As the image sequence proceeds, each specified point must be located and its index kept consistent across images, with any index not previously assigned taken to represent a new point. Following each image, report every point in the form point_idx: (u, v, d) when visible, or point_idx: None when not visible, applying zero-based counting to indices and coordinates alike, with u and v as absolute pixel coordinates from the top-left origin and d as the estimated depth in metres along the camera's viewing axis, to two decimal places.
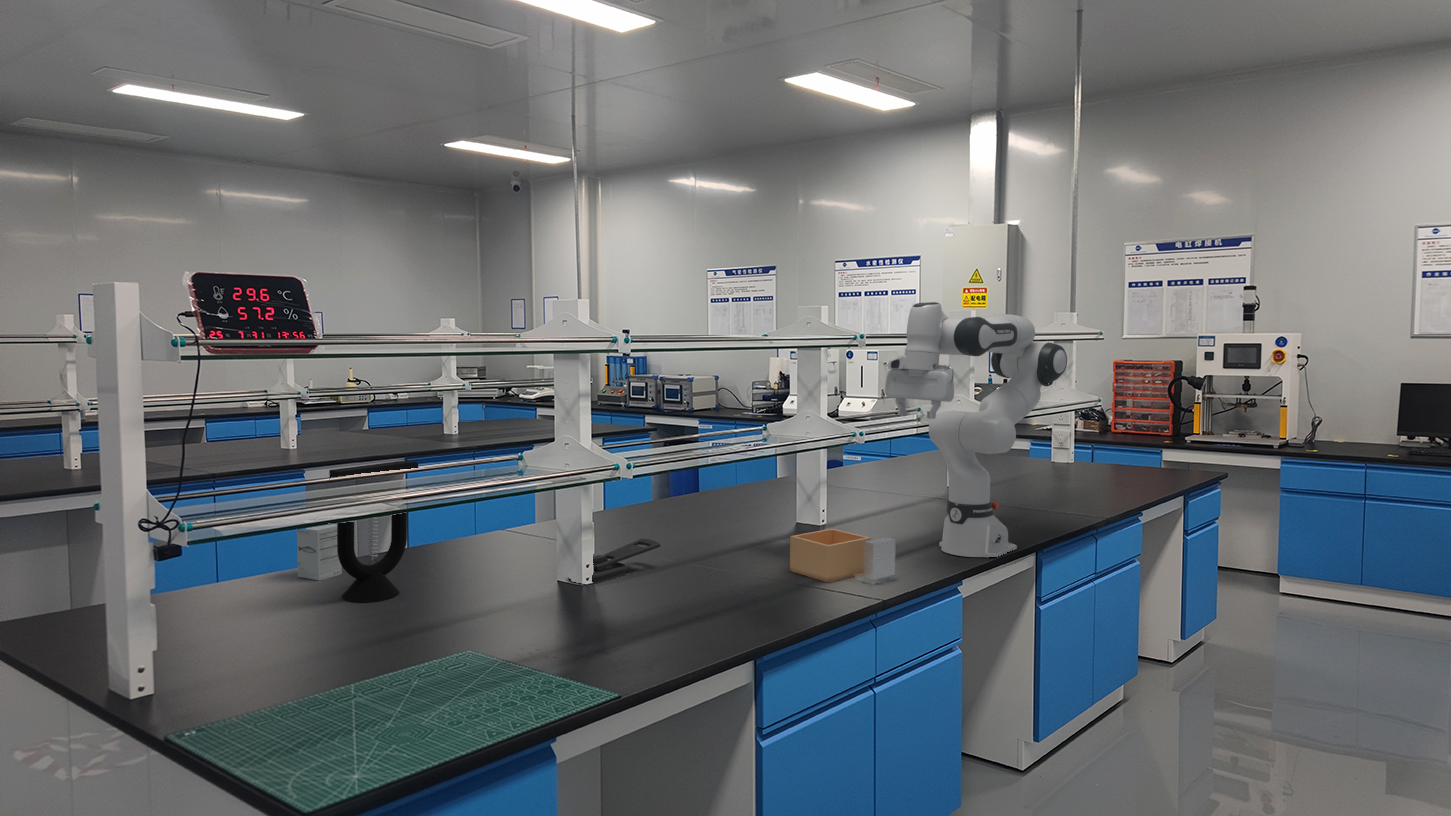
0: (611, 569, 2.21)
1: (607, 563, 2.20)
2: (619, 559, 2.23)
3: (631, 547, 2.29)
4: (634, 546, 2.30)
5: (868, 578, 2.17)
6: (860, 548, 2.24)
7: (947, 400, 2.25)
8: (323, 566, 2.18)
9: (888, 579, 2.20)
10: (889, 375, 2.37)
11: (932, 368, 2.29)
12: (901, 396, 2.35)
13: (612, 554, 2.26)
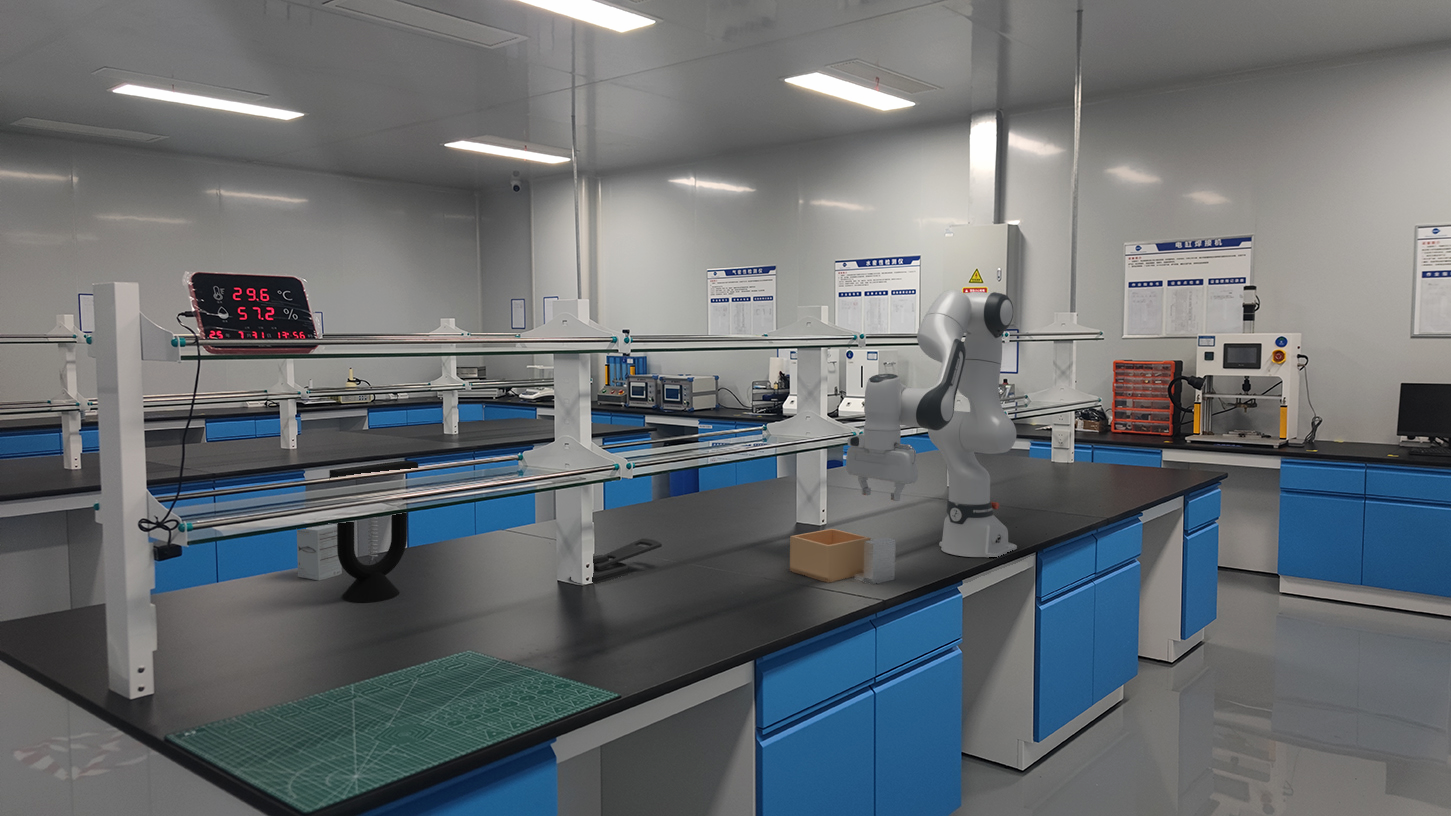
0: (612, 569, 2.21)
1: (608, 563, 2.20)
2: (620, 559, 2.23)
3: (632, 547, 2.30)
4: (635, 546, 2.30)
5: (868, 578, 2.17)
6: (860, 548, 2.24)
7: (910, 482, 2.10)
8: (323, 566, 2.18)
9: (888, 579, 2.20)
10: (849, 452, 2.23)
11: (893, 447, 2.14)
12: (863, 475, 2.20)
13: (613, 554, 2.26)
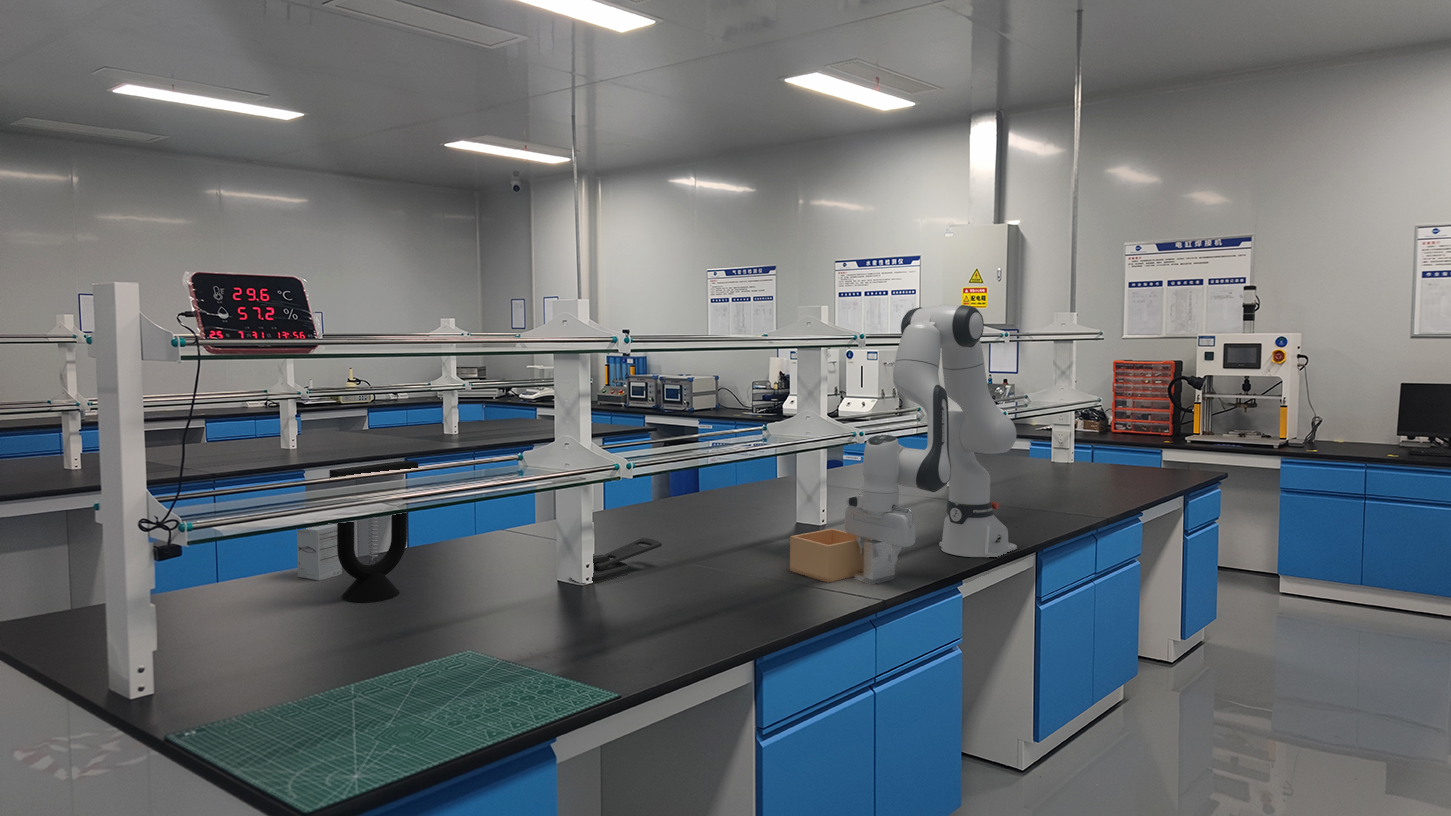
0: (613, 568, 2.22)
1: (609, 562, 2.21)
2: (621, 558, 2.23)
3: (632, 546, 2.30)
4: (635, 545, 2.31)
5: (868, 578, 2.17)
6: None
7: (908, 545, 2.11)
8: (323, 566, 2.18)
9: (888, 579, 2.20)
10: (848, 512, 2.24)
11: (891, 509, 2.15)
12: (861, 535, 2.21)
13: (614, 553, 2.26)
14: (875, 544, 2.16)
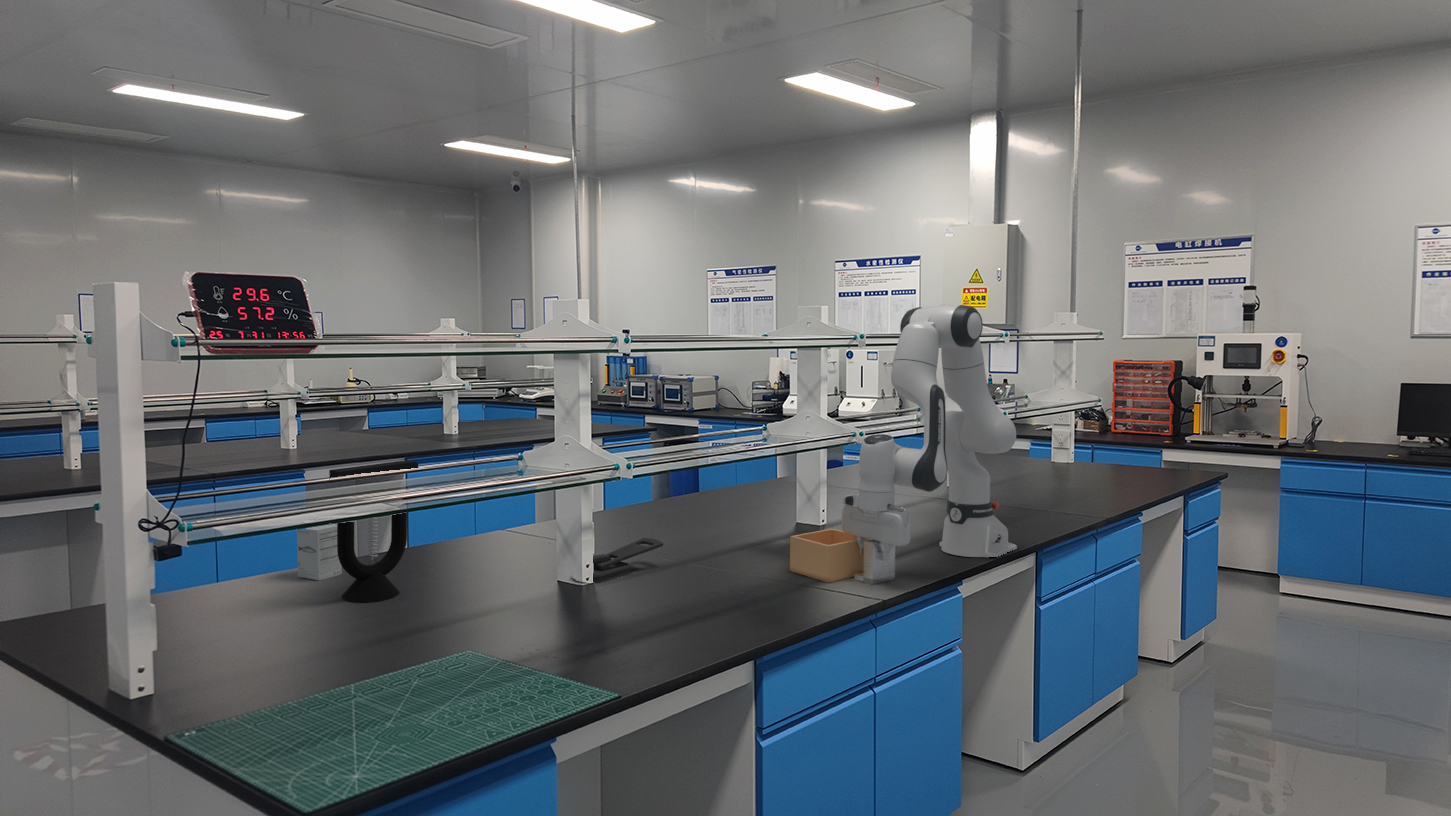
0: (615, 568, 2.22)
1: (611, 562, 2.21)
2: (622, 558, 2.24)
3: (634, 546, 2.30)
4: (637, 545, 2.31)
5: (868, 578, 2.17)
6: None
7: (903, 545, 2.12)
8: (323, 566, 2.18)
9: (888, 579, 2.20)
10: (844, 510, 2.25)
11: (886, 508, 2.15)
12: (857, 534, 2.22)
13: (615, 553, 2.26)
14: (875, 544, 2.16)
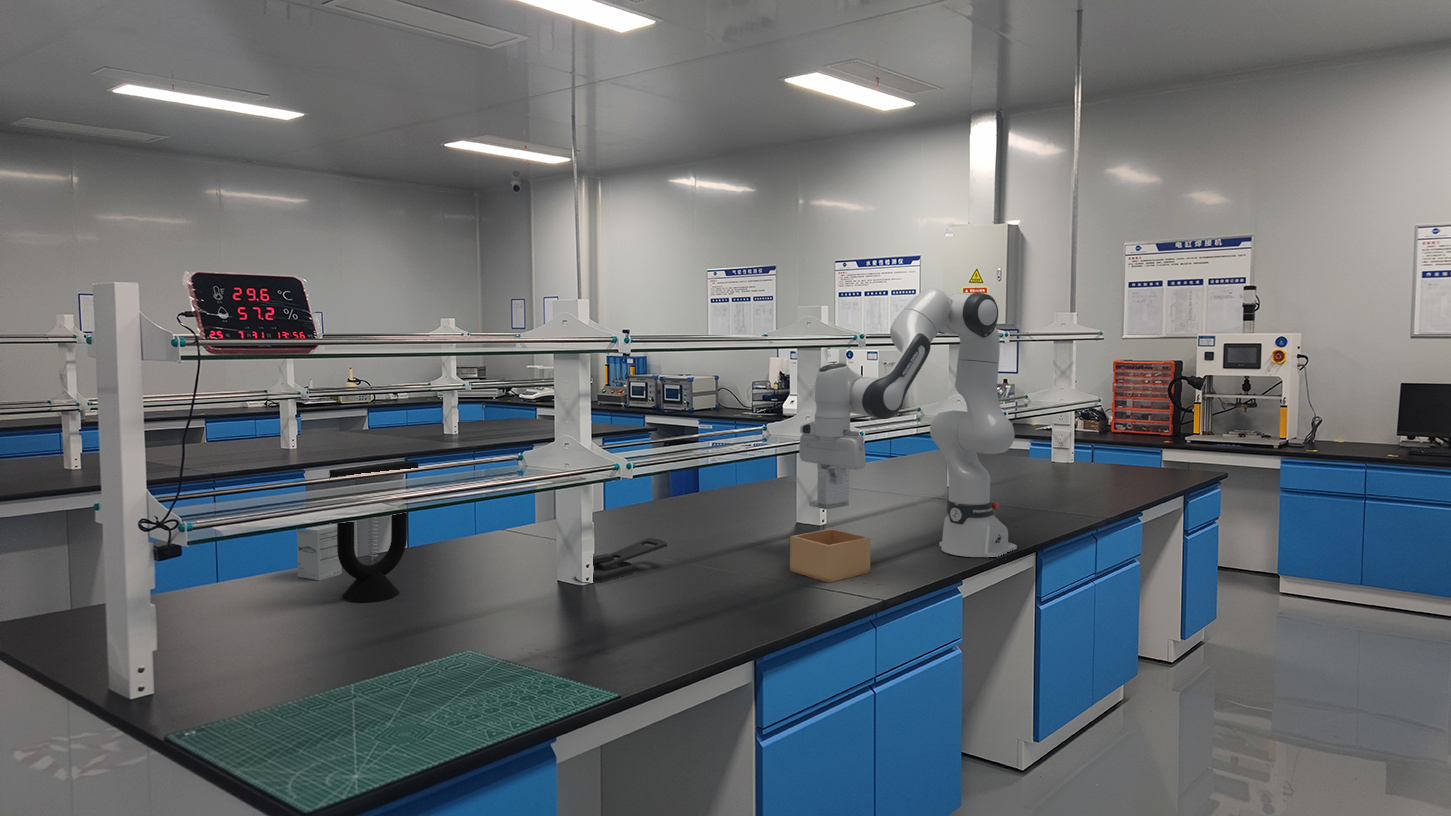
0: (617, 568, 2.22)
1: (613, 562, 2.21)
2: (625, 558, 2.24)
3: (638, 546, 2.30)
4: (641, 545, 2.31)
5: (822, 503, 2.24)
6: (860, 548, 2.24)
7: (858, 468, 2.18)
8: (323, 566, 2.18)
9: (842, 505, 2.27)
10: (802, 439, 2.30)
11: (842, 434, 2.21)
12: (815, 461, 2.28)
13: (619, 553, 2.27)
14: (828, 470, 2.23)
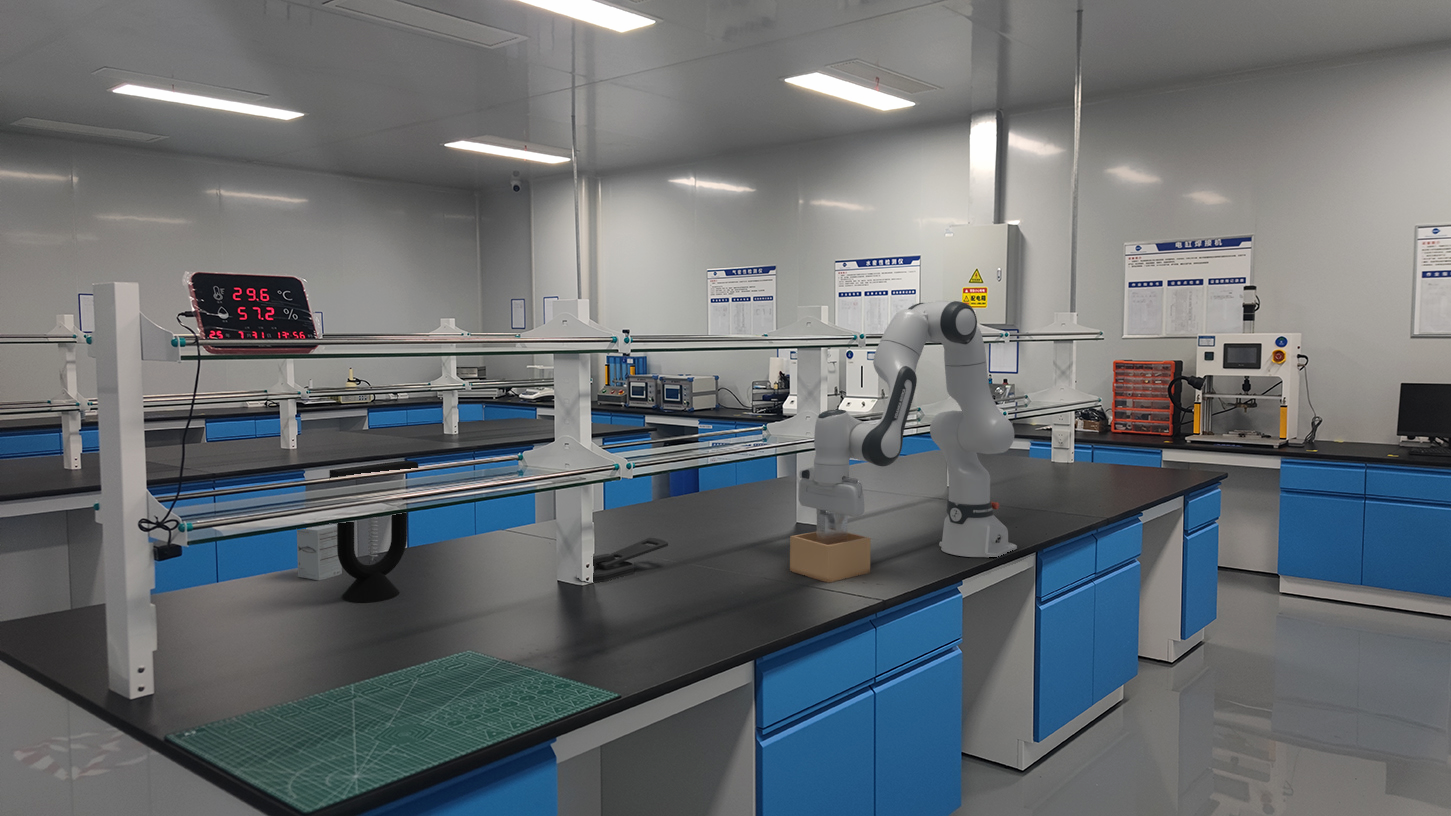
0: (618, 568, 2.22)
1: (614, 562, 2.22)
2: (627, 558, 2.24)
3: (639, 546, 2.31)
4: (642, 545, 2.31)
5: None
6: (860, 548, 2.24)
7: (857, 515, 2.19)
8: (323, 566, 2.18)
9: None
10: (801, 484, 2.31)
11: (841, 481, 2.22)
12: (814, 507, 2.29)
13: (620, 553, 2.27)
14: (827, 516, 2.24)
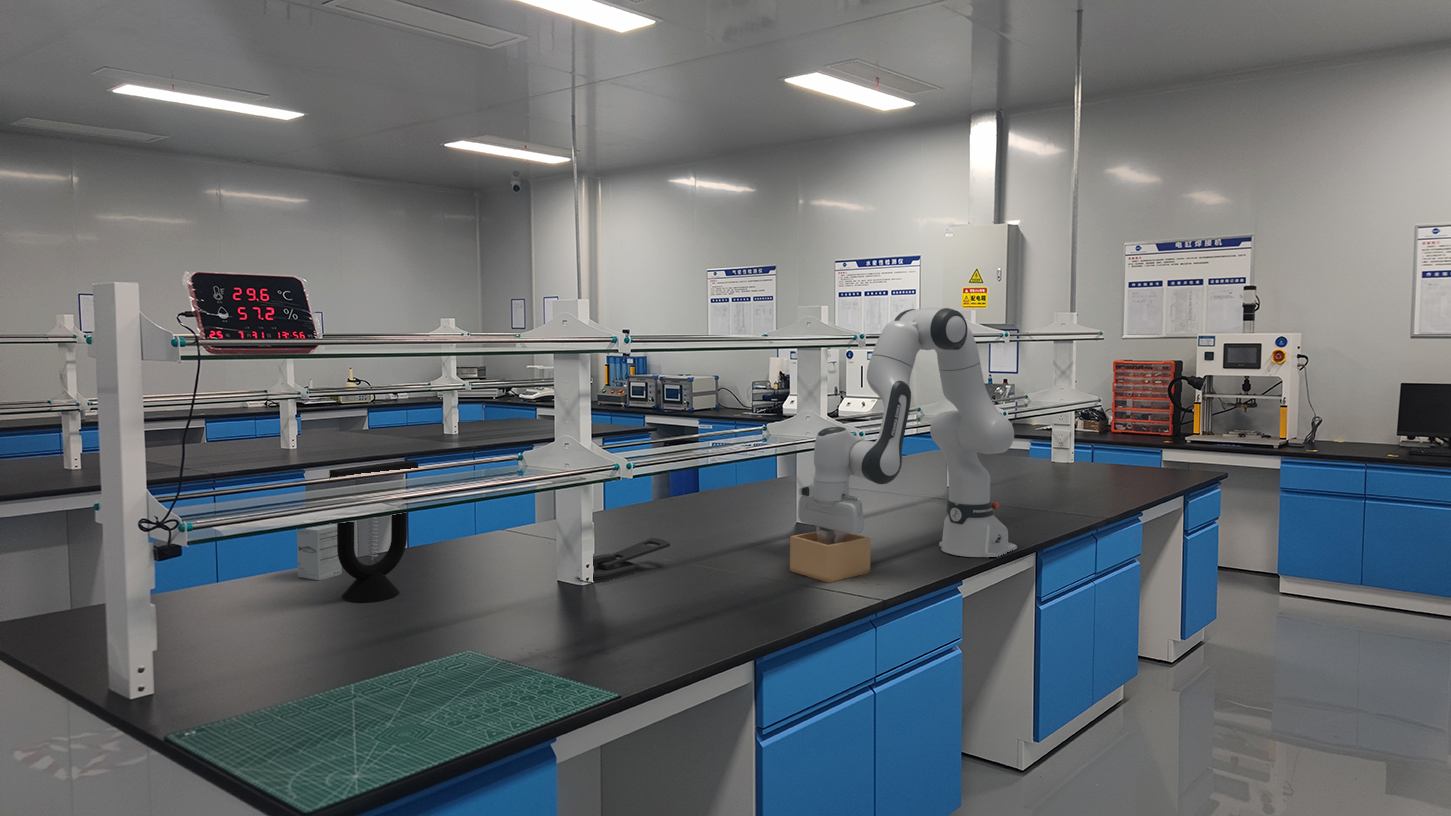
0: (620, 568, 2.22)
1: (615, 562, 2.22)
2: (628, 558, 2.24)
3: (641, 546, 2.31)
4: (644, 545, 2.31)
5: None
6: (860, 548, 2.24)
7: (857, 533, 2.19)
8: (323, 566, 2.18)
9: None
10: (801, 501, 2.31)
11: (841, 498, 2.22)
12: (814, 524, 2.29)
13: (621, 553, 2.27)
14: (827, 532, 2.24)
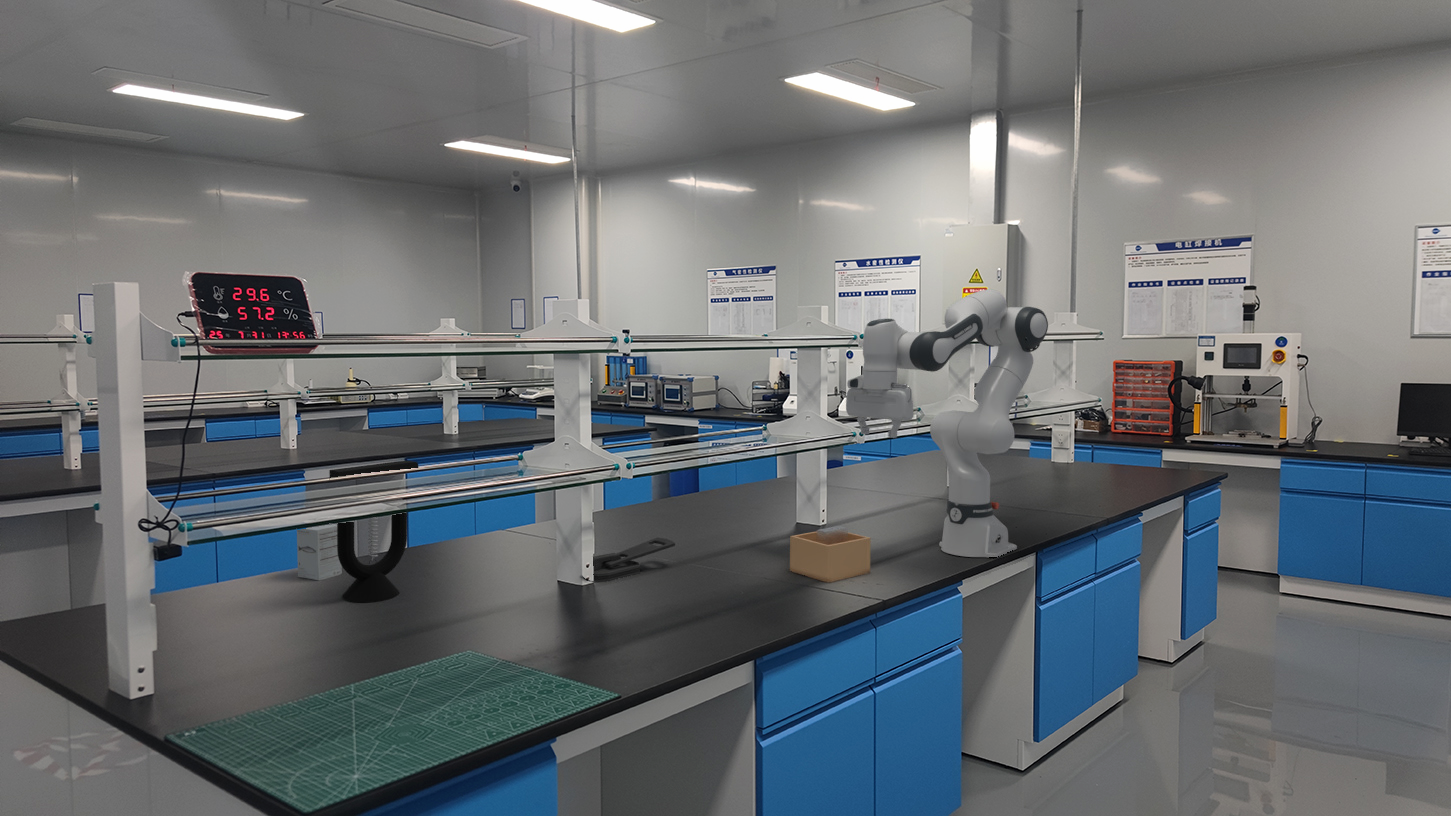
0: (624, 567, 2.23)
1: (620, 561, 2.22)
2: (632, 557, 2.24)
3: (646, 546, 2.31)
4: (649, 545, 2.32)
5: None
6: (860, 548, 2.24)
7: (907, 419, 2.23)
8: (323, 566, 2.18)
9: None
10: (849, 394, 2.36)
11: (890, 387, 2.27)
12: (862, 415, 2.33)
13: (626, 552, 2.27)
14: (827, 532, 2.24)
